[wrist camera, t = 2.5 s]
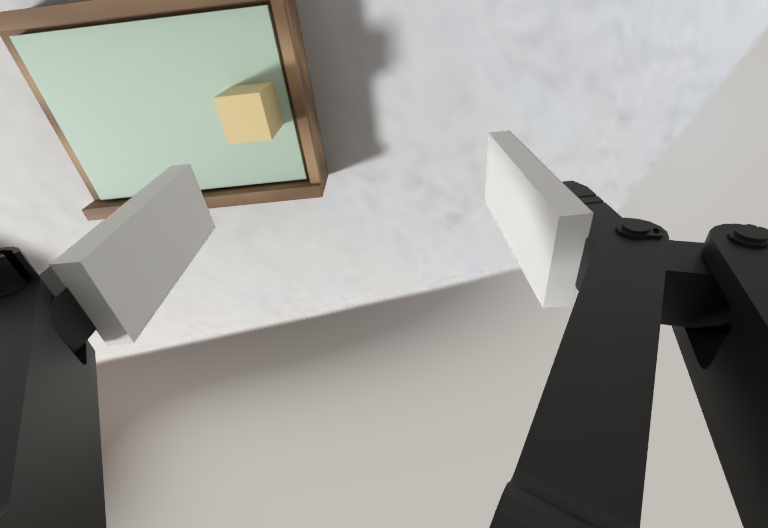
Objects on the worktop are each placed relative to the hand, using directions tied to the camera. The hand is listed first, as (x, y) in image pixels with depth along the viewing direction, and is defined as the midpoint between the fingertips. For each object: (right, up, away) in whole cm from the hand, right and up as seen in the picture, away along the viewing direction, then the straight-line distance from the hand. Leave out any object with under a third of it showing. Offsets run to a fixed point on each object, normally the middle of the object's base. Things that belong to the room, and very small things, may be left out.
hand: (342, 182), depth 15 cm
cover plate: (-14, +8, +15) cm, 22 cm away
